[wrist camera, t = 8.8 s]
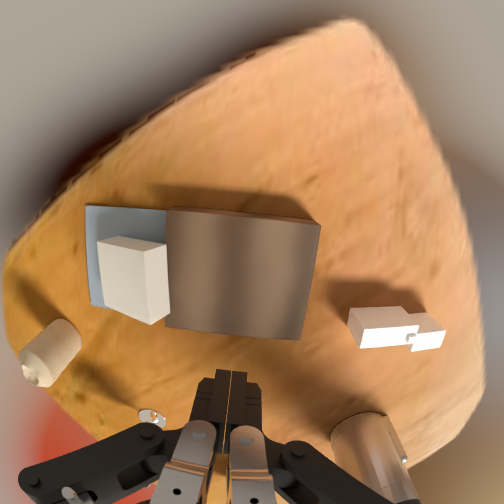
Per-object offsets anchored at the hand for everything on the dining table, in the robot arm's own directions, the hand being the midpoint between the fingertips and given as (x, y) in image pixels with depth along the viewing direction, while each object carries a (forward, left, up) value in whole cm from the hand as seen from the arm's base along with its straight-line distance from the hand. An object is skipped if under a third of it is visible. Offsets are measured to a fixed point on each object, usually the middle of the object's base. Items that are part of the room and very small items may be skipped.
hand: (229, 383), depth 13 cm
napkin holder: (-19, +5, -18) cm, 27 cm away
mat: (+13, +1, -17) cm, 22 cm away
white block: (+10, +1, -16) cm, 19 cm away
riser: (0, 0, -17) cm, 17 cm away
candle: (+23, +13, -18) cm, 32 cm away
